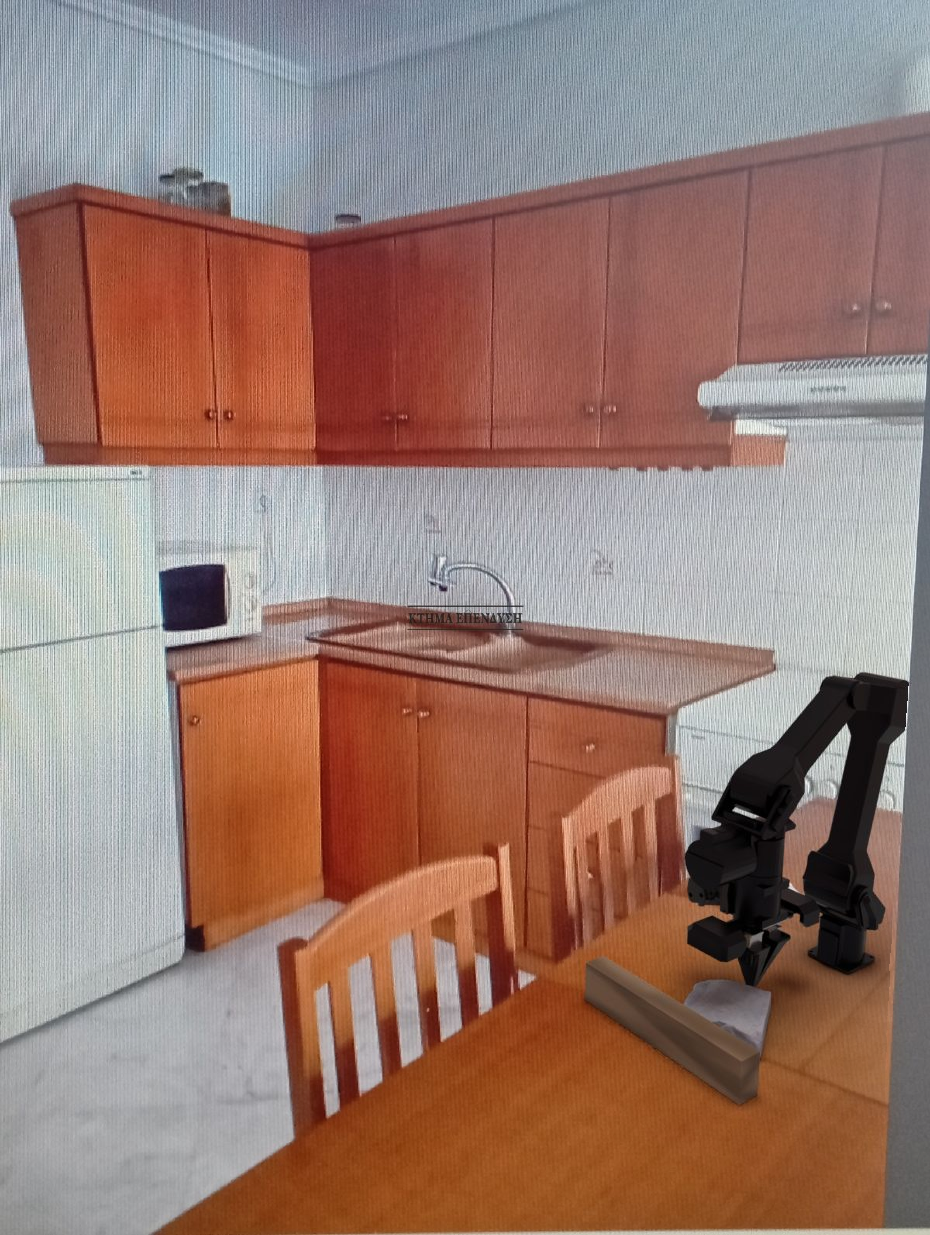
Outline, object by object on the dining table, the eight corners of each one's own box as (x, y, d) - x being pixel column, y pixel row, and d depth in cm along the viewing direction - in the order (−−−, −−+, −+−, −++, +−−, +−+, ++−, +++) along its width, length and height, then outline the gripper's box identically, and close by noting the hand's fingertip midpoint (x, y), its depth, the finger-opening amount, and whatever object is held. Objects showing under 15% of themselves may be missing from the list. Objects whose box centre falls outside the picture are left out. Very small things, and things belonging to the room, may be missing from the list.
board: (602, 992, 120) (603, 955, 119) (757, 1094, 101) (760, 1051, 100) (584, 999, 118) (585, 962, 118) (739, 1105, 99) (741, 1061, 98)
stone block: (678, 1061, 109) (768, 1066, 105) (672, 1021, 109) (761, 1024, 105) (694, 1011, 120) (776, 1014, 116) (689, 975, 120) (770, 976, 116)
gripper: (753, 831, 127) (747, 939, 130) (656, 862, 117) (650, 979, 119) (826, 859, 118) (817, 975, 121) (727, 896, 108) (720, 1022, 110)
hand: (750, 986), depth 118 cm, fingers closed
